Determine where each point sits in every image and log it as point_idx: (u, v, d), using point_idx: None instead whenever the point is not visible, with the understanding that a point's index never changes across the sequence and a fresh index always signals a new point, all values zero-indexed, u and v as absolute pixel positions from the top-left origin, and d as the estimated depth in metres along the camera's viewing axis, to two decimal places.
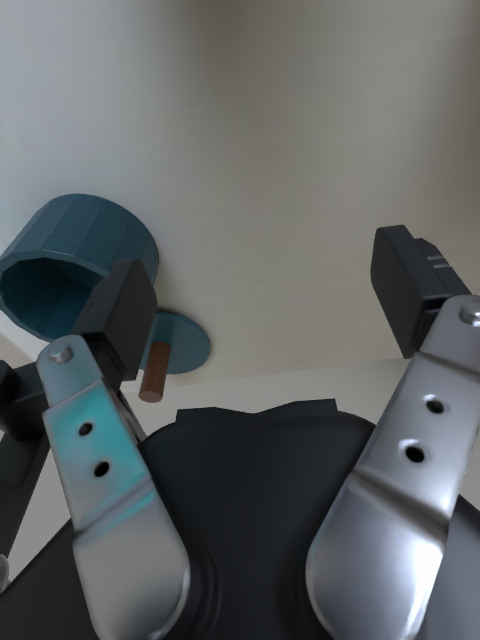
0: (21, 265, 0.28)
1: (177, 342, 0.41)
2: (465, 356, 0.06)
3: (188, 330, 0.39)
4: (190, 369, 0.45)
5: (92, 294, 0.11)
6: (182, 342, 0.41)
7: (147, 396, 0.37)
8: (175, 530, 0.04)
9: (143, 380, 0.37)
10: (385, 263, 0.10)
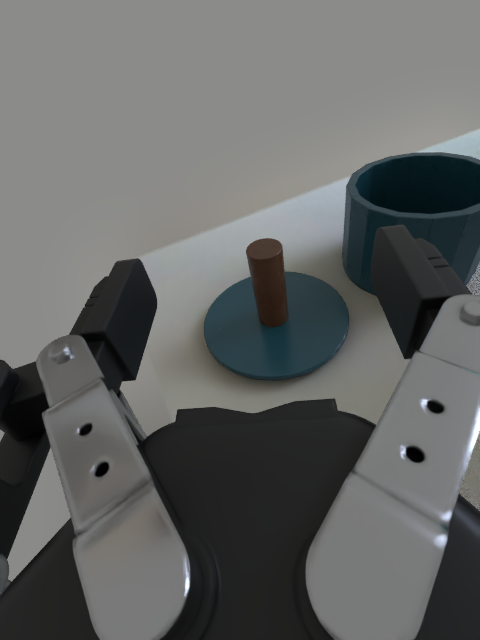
0: (400, 194, 0.32)
1: (292, 332, 0.27)
2: (465, 356, 0.06)
3: (328, 338, 0.26)
4: (224, 359, 0.26)
5: (92, 294, 0.11)
6: (296, 336, 0.27)
7: (265, 245, 0.24)
8: (175, 530, 0.04)
9: None
10: (385, 263, 0.10)
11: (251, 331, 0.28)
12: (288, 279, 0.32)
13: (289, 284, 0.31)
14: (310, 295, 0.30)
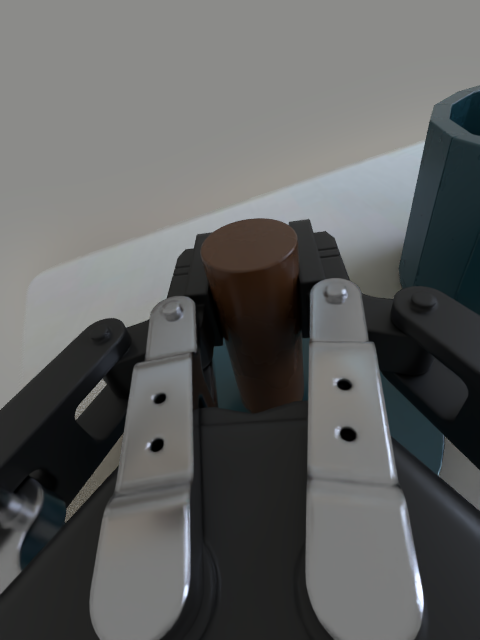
0: None
1: None
2: (344, 331, 0.07)
3: None
4: None
5: (177, 265, 0.11)
6: None
7: (251, 235, 0.09)
8: (188, 552, 0.04)
9: None
10: None
11: None
12: None
13: None
14: None
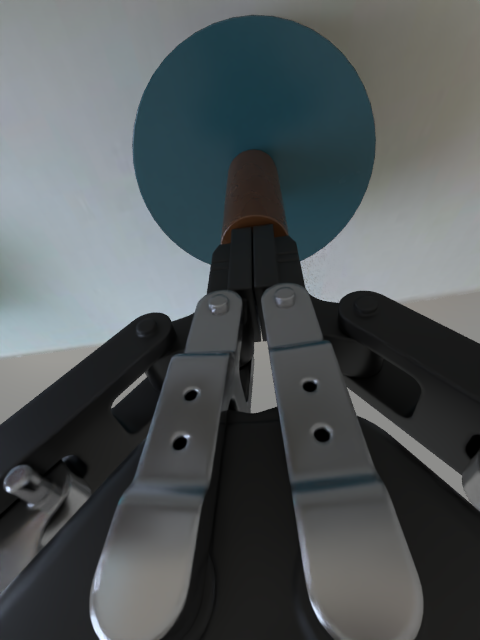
0: None
1: (232, 126, 0.16)
2: (300, 333, 0.07)
3: (179, 86, 0.15)
4: (361, 104, 0.15)
5: (213, 260, 0.11)
6: (230, 112, 0.15)
7: None
8: (191, 565, 0.04)
9: None
10: None
11: (297, 154, 0.17)
12: (208, 247, 0.20)
13: (209, 235, 0.20)
14: (183, 200, 0.18)
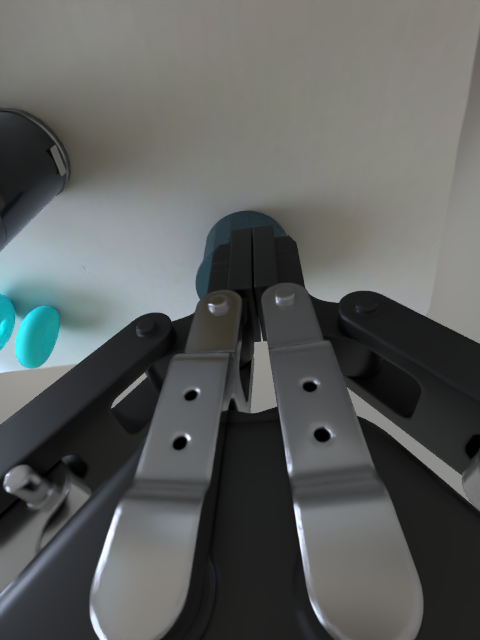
0: None
1: None
2: (300, 333, 0.07)
3: None
4: None
5: (213, 260, 0.11)
6: None
7: None
8: (190, 565, 0.04)
9: None
10: None
11: None
12: None
13: None
14: None
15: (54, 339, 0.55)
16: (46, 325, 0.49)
